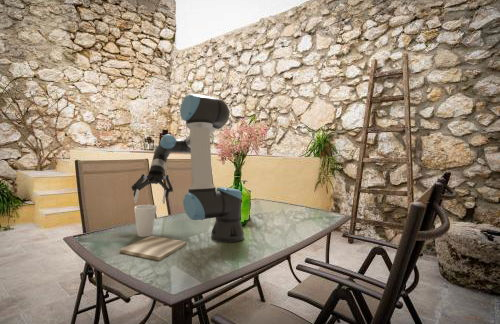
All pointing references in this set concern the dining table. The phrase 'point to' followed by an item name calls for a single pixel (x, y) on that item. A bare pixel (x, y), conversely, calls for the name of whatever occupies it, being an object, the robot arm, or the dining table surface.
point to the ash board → (153, 247)
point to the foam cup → (144, 219)
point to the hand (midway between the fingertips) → (149, 202)
